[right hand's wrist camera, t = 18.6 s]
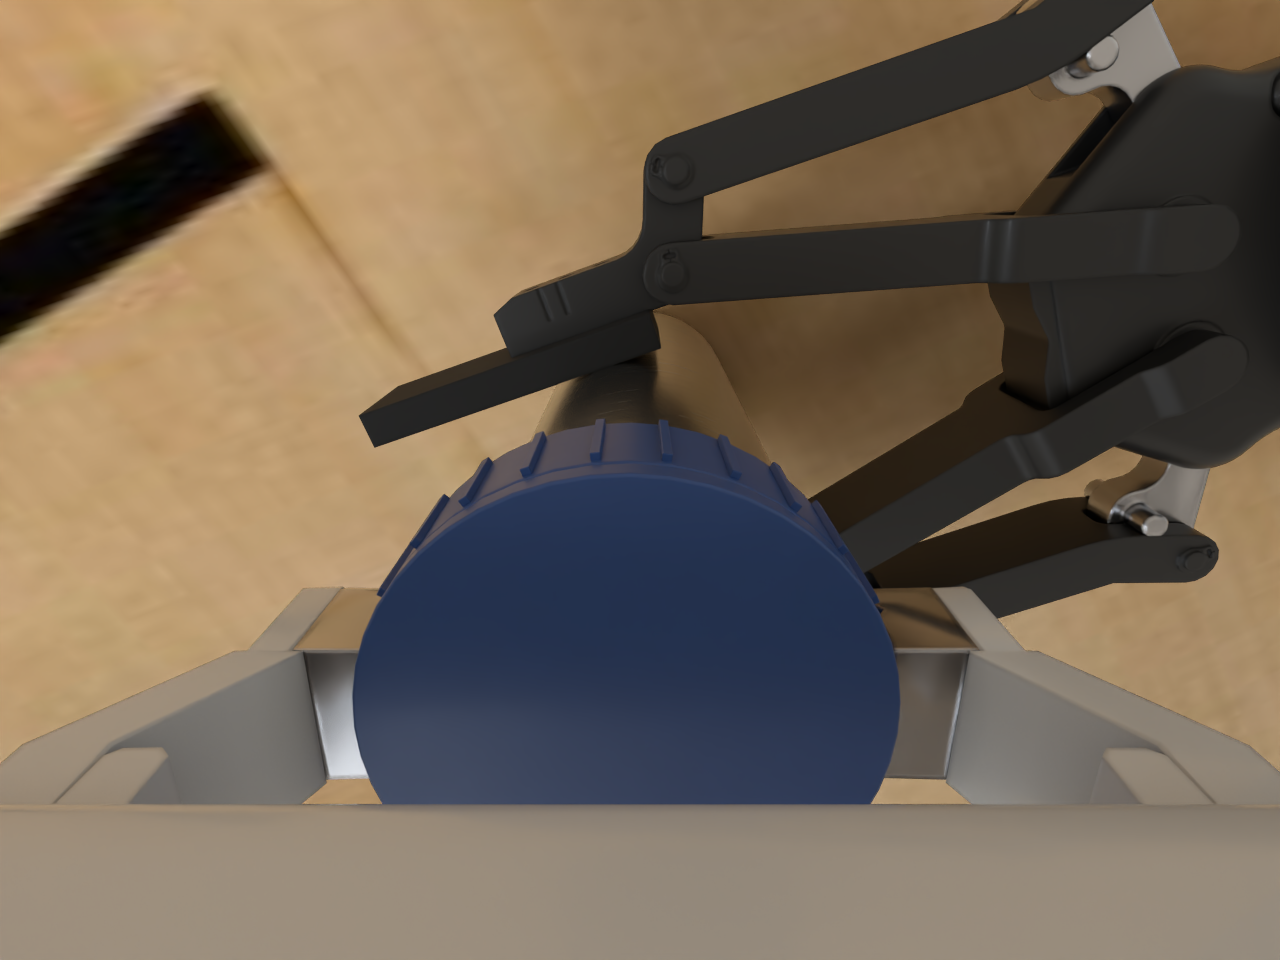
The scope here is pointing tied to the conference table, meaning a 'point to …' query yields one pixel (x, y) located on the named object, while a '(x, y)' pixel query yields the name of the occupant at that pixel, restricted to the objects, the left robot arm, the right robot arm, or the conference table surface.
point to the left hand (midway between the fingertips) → (442, 525)
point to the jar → (658, 392)
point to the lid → (626, 636)
